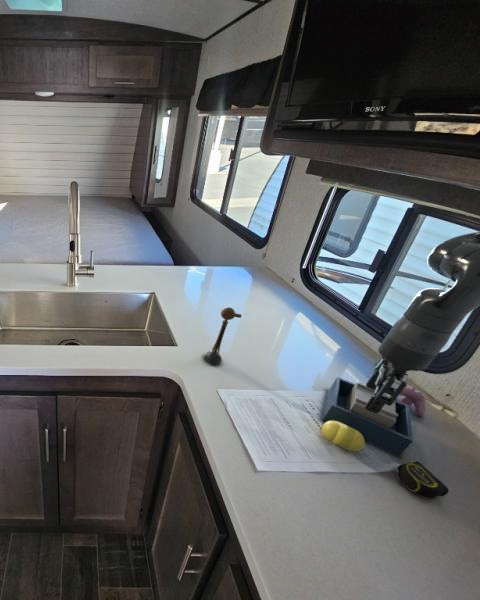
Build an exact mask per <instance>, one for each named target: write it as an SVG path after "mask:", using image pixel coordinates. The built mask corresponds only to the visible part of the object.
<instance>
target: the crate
mask: <svg viewBox="0 0 480 600" xmlns="http://www.w3.org/2000/svg"><path fill="white" fill-rule="evenodd" d="M355 384H356V383H354V382H352V381H349V380H347V379H345V378H342V377H340V376H337V377H336V378H335V379H334V381H333V383H332V384H331V386H330V388H329V389H328V391H327V396H326V401H325V405H324V410H323V415H322V421H323V422H324V423H326V422H327V421H338V422H340V423H343V424H345V425H347V426H349V427H351V428H353V429H355V430H357V431H358V432H360V433H361V434H362V436H363V437H364V440H365V442H368V443H369V444H371V445H374V446H376V447H377V448H381V449H382V450H384V451H387V452H388V453H390V454H392V455H395V456H397V457H400V456H401V455H402V454H403V453H404V452H405V451H406V450H407V449H408V447H410V445H411V444H412V443H413V442H414V438H413V437H414V436H413V428H412V427H413V426H412V416H411V405H410V406H409V405H406V404H404V403H401V402H399V400H397V401H395V407H396V413H397V414H398V417H397V418H396V422H395V423H394V425H393V426H392V427H391V428H390V429H389V428H387V427H384V426H382V425H380V424H378V423H375V422H373V421H371V420H369V419H366V418H364V417H362V416H360V415H357V414H355V413H353V412H351V411H348V410H346V409H344V401H345V399H346V397H347V396H348V394H349V393H350V391H351V390H352V388H353V387H354V385H355Z"/></svg>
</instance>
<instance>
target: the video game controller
mask: <svg viewBox="0 0 480 600" xmlns="http://www.w3.org/2000/svg"><path fill="white" fill-rule="evenodd" d="M384 383H385V382H384ZM384 383H383V384H384ZM399 396H402V397H400V398H399V400H398V397H397V400H396V401H399V402H401V403H404V404H406V405H409V406H410V407H411V405H413V406H414V408H415V412H416V414H417V416H418V417H423V416H424V414H425V413H426V398H425V395H424V394H423V392H421V391H420V390H419V389H416V388H414V387H412V386H410V385H408V384H407V385H406V387H405V388H404V389H403V390H402V392H401V393H400V394H399Z"/></svg>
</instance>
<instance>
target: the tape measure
mask: <svg viewBox="0 0 480 600" xmlns="http://www.w3.org/2000/svg"><path fill="white" fill-rule="evenodd" d="M396 475H397V479H398V480H399V481H400V482H401V483H402V485H403V486H405V487H406V489H408V490H409V491H411V492H412V493H413V494H415V495H417V496H419V497H421V498H424V499H435V498H438V497H445V496H446V495H447V494H449V488H448V487H447V485H445V484H444V482H443V481H441V480H440V479H439V478H438V477H437V476H435V475H434V474H433V473H432V472H431V471H430V470H429V469H428V468H427V467H426V466H425V465H424V464H422V463H421V462H420V461H418V460H415V461H413V462H406V463H402V464H399V465H398V466H397V473H396Z"/></svg>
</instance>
